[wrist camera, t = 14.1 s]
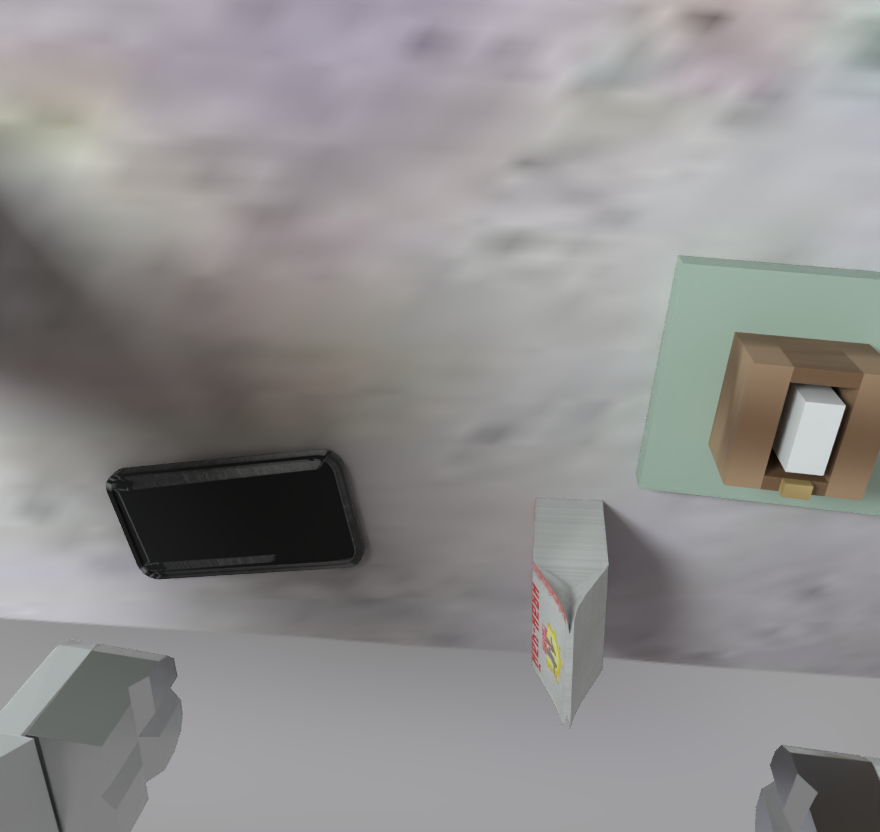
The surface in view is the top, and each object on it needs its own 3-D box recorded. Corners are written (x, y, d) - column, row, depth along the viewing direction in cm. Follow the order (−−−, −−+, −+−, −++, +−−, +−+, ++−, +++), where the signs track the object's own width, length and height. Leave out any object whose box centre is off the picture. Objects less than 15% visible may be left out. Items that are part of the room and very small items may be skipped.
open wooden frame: (734, 331, 35) (757, 367, 31) (869, 344, 34) (910, 382, 30) (708, 444, 38) (726, 490, 34) (832, 457, 37) (865, 506, 33)
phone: (100, 475, 45) (335, 453, 42) (110, 466, 46) (341, 444, 43) (144, 581, 48) (365, 568, 45) (152, 570, 49) (370, 557, 46)
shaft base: (636, 474, 41) (648, 537, 35) (678, 255, 35) (699, 291, 30) (867, 500, 39) (916, 570, 34) (947, 277, 34) (1019, 319, 29)
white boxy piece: (602, 500, 42) (614, 621, 33) (597, 596, 45) (606, 732, 36) (535, 497, 42) (529, 616, 33) (534, 593, 45) (529, 726, 36)
